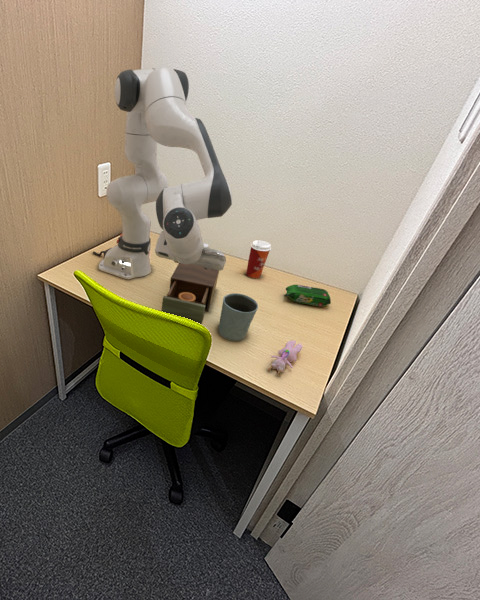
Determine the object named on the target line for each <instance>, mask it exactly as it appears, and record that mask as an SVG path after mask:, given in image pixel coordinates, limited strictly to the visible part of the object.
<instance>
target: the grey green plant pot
mask: <svg viewBox="0 0 480 600" xmlns="http://www.w3.org/2000/svg"><path fill="white" fill-rule="evenodd" d="M258 308H259V305H258V303H257V301H256V300H255V299H254V298H253V297H250V296H248V295H246V294H243V293H237V292H236V293H235V292H234V293H233V292H232V293H228V294H225V296H224V297H223V298H222V303H221V311H220V316H219V324H218V327H217V328H218V329H217V332H218V334H219V335H220V336H221V337H222V338H224V339H225V340H228V341H230V342H239V341H242V340H244V339H245V337H246V336H247V334H248V331H249V329H250V326H251V323H252V322H253V320H254V317H255V315H256V313H257V311H258Z"/></svg>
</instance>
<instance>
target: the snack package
mask: <svg viewBox="0 0 480 600" xmlns="http://www.w3.org/2000/svg"><path fill="white" fill-rule="evenodd" d="M285 291H286V293H285V294H284V297H288V298H289V299H290V300H291V301H293V302H294V303H299V304H303V305H309V306H315V307H326V306H329V305H332V304H331V303H332V300H331V296H330V293H329V292H328V291H327V290H326V289H324V288H321V287H313V286H307V285H304V284H303V285H302V284H291V285H288V286H286V287H285Z"/></svg>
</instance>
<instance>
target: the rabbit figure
mask: <svg viewBox="0 0 480 600" xmlns="http://www.w3.org/2000/svg"><path fill="white" fill-rule="evenodd" d="M296 343H297V340H288V341H287V342H286V343H285V346H284V347H283V348H281V349H279V350H278V351H277V353H278V355H270V358H272V359H274V358H275V359H274V360H273V361H271V363H270V366H269V367H268V368H267V370H268V371H269V372H272V370H277V373H276V377H279V376H280V373H283V372H284V371H285V369H286V365H289V368H290V369H293V365H292V363H294V362H297V355H298V354H299V353H301V351H302V349H303V344H302V343H300V342H299V343H297V344H296ZM271 369H272V370H271Z"/></svg>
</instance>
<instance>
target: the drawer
mask: <svg viewBox="0 0 480 600" xmlns="http://www.w3.org/2000/svg"><path fill="white" fill-rule="evenodd" d="M169 289H170V290H169ZM169 289H168V292H167V294H166V295H163V296H162V304H161V312H162V311H163V312H166V313H170V314H174V315H177V316H181V317H185V318H188V319H191V320H193V321H195V322H198V323H200V324H202V325H203V321H204V315H205V312H206V311H205V307H206V304H207V299H208V294H209V289H210V288H208V287H203V286H199V285H194V284H189V283H184V282H179V281H174V282H173V284H172V286H171V288H170V287H169ZM183 292H189V293H192V294H194V295H195V297H196V299H195V303H194V302H190V301H185V300H181V299H178V296H179V294H180V293H183Z"/></svg>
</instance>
